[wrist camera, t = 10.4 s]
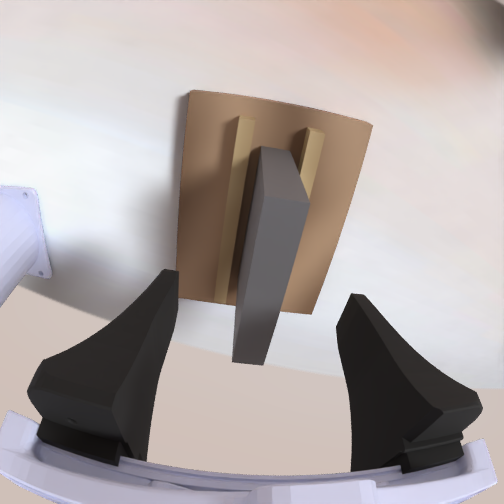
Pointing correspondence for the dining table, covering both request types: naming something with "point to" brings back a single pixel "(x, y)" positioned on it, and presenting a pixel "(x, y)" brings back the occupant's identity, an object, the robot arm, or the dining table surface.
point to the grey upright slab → (268, 252)
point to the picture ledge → (242, 183)
